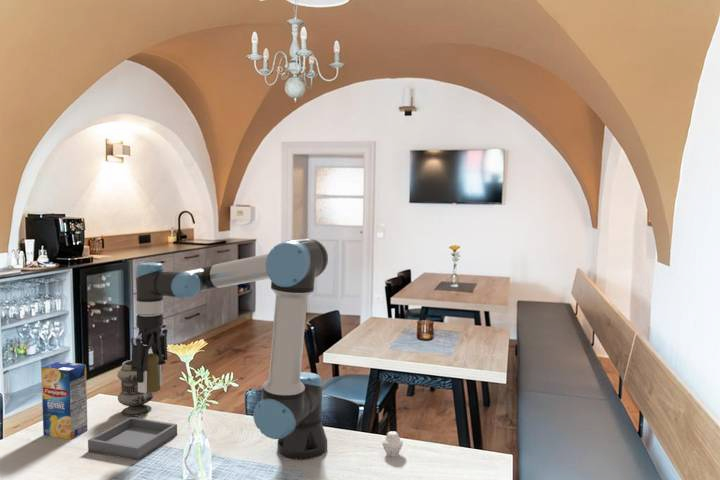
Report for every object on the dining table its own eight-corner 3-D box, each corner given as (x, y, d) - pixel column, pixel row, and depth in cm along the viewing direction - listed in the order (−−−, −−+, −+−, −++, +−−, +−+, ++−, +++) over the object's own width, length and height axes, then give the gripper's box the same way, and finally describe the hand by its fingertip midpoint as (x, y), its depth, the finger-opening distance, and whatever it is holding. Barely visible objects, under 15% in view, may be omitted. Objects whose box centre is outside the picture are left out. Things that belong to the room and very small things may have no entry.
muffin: (400, 460, 154) (400, 437, 153) (379, 457, 156) (380, 434, 155) (404, 451, 160) (405, 428, 159) (385, 448, 162) (385, 425, 161)
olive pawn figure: (153, 394, 158) (153, 357, 157) (135, 392, 159) (134, 356, 158) (164, 387, 164) (164, 352, 163) (147, 385, 165) (146, 350, 164)
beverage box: (71, 439, 166) (69, 370, 165) (43, 435, 169) (41, 367, 168) (87, 430, 173) (86, 364, 171) (60, 426, 176) (58, 361, 174)
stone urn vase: (135, 403, 197) (134, 355, 196) (161, 407, 193) (161, 359, 192) (110, 415, 185) (109, 364, 184) (137, 420, 181) (136, 368, 180)
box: (177, 434, 170) (177, 424, 170) (138, 460, 153) (137, 448, 152) (131, 427, 175) (130, 417, 175) (88, 451, 158) (87, 439, 158)
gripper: (160, 307, 170) (160, 377, 172) (116, 319, 152) (117, 397, 154) (180, 309, 168) (179, 380, 169) (138, 321, 150) (138, 401, 151)
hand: (150, 388), depth 162 cm, fingers closed on olive pawn figure, 6 cm apart
